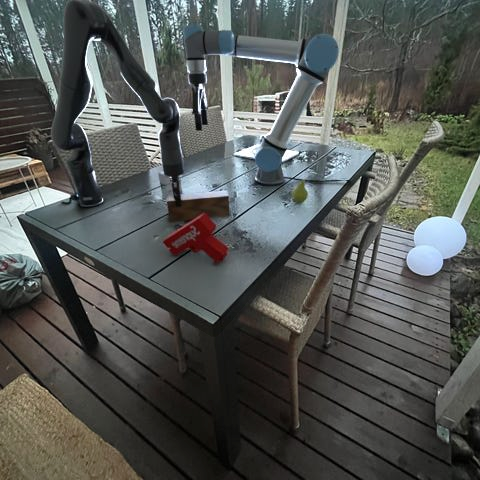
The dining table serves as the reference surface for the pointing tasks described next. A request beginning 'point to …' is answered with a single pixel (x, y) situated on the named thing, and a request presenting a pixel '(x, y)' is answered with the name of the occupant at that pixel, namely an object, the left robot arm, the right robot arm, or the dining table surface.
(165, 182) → the ink box
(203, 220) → the toy gun
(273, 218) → the dining table surface
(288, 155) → the white printed flat box
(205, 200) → the bar
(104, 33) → the left robot arm
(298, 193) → the fruit
